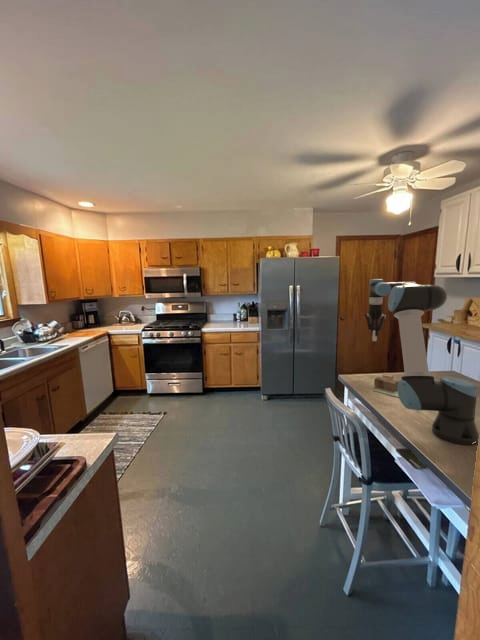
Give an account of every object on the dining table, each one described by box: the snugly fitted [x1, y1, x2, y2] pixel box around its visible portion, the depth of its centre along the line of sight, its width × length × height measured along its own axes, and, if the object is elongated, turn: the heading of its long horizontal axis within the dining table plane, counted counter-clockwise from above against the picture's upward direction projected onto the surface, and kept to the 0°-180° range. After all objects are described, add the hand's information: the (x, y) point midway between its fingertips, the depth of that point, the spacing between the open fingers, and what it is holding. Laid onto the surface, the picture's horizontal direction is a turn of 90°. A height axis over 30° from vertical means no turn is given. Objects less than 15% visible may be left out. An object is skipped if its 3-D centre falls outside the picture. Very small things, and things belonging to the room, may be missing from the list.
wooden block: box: [373, 376, 399, 392], centre depth 163 cm, size 5×5×11 cm
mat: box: [372, 387, 400, 399], centre depth 161 cm, size 14×14×1 cm
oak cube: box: [382, 372, 394, 380], centre depth 173 cm, size 5×5×5 cm
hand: (374, 340), depth 179 cm, fingers closed
